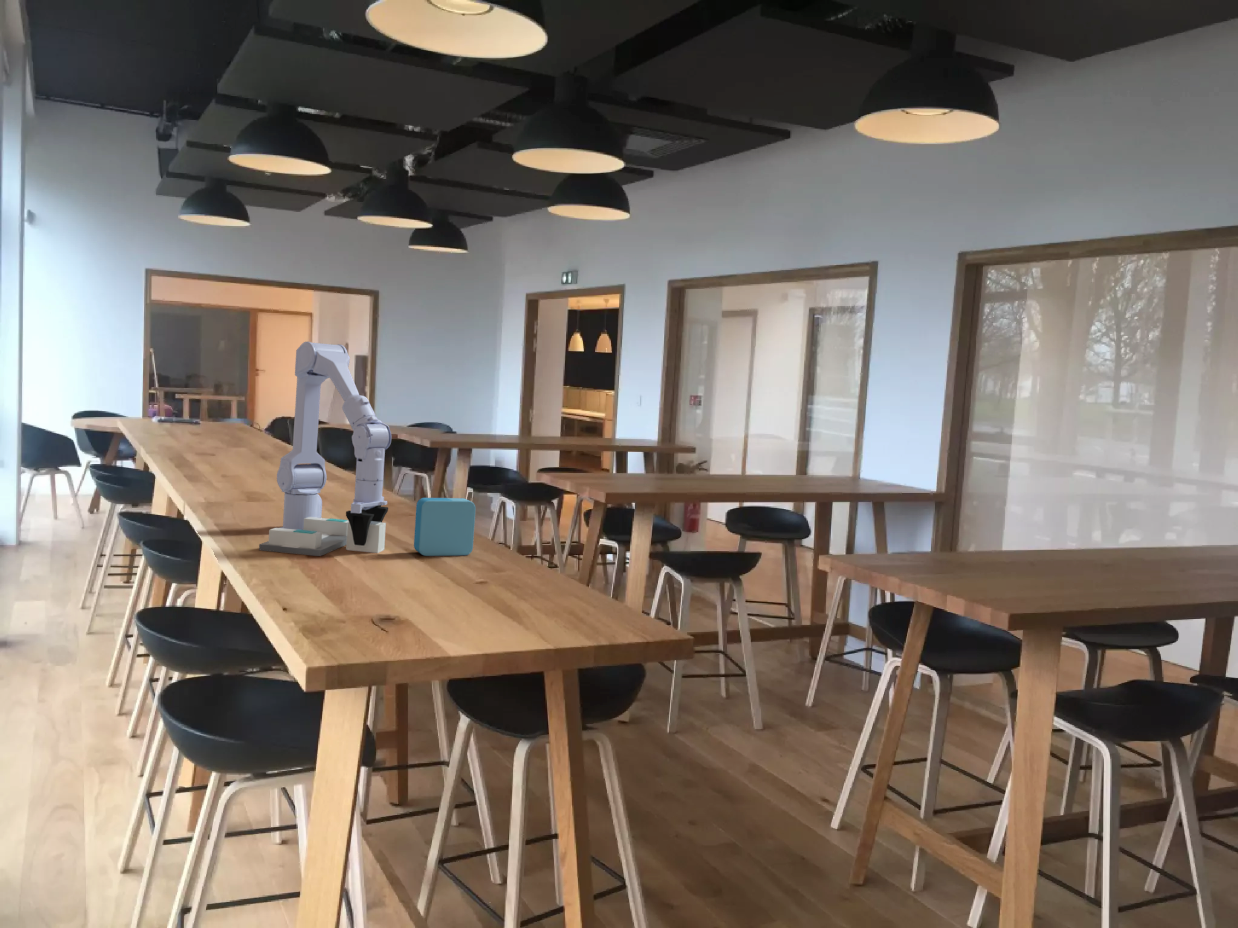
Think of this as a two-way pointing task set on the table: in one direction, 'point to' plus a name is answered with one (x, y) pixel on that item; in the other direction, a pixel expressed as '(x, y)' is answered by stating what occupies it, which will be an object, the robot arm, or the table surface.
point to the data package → (444, 526)
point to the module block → (369, 538)
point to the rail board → (307, 551)
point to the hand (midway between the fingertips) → (365, 542)
